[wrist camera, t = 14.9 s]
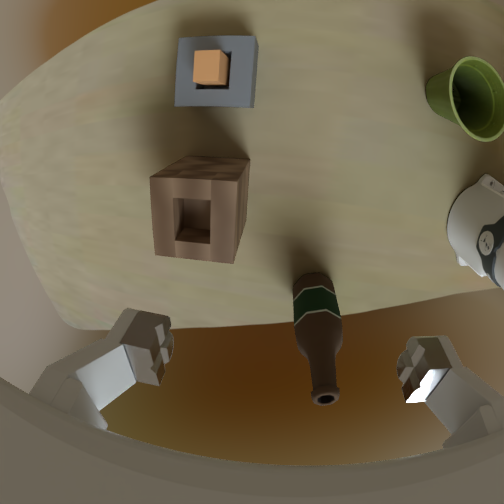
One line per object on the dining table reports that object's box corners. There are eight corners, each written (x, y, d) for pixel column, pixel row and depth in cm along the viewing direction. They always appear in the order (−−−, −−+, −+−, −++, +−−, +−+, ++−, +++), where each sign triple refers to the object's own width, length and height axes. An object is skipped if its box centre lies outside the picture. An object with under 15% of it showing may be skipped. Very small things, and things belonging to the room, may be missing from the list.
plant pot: (405, 113, 36) (440, 117, 26) (420, 50, 30) (456, 39, 20) (460, 142, 36) (499, 156, 26) (474, 83, 30) (515, 85, 21)
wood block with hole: (250, 159, 42) (237, 181, 30) (246, 220, 47) (233, 263, 35) (186, 156, 43) (149, 177, 30) (186, 215, 47) (155, 255, 35)
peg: (231, 60, 33) (220, 49, 26) (229, 86, 35) (218, 81, 28) (210, 60, 34) (194, 50, 27) (209, 86, 35) (192, 81, 28)
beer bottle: (283, 283, 52) (282, 395, 31) (321, 263, 49) (343, 373, 28) (305, 311, 55) (311, 420, 34) (340, 293, 52) (365, 401, 31)
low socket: (258, 45, 34) (255, 36, 28) (253, 107, 38) (249, 107, 33) (191, 46, 34) (178, 38, 29) (187, 106, 39) (174, 106, 34)
